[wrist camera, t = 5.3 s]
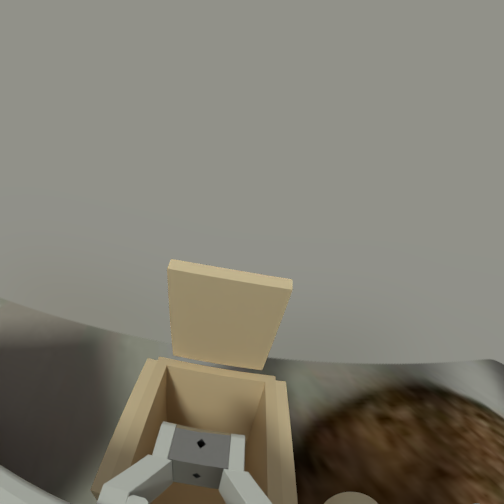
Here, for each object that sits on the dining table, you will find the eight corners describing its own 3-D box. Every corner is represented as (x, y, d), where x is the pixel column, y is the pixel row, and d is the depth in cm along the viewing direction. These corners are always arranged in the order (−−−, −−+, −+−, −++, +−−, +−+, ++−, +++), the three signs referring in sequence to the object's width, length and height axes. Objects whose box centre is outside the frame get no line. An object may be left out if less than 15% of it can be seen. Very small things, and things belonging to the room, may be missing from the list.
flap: (262, 361, 22) (292, 279, 17) (262, 370, 22) (292, 289, 16) (175, 346, 22) (171, 259, 16) (173, 355, 21) (167, 268, 16)
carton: (260, 446, 25) (285, 377, 22) (260, 572, 12) (301, 548, 9) (153, 428, 25) (149, 354, 22) (117, 548, 11) (82, 511, 8)
